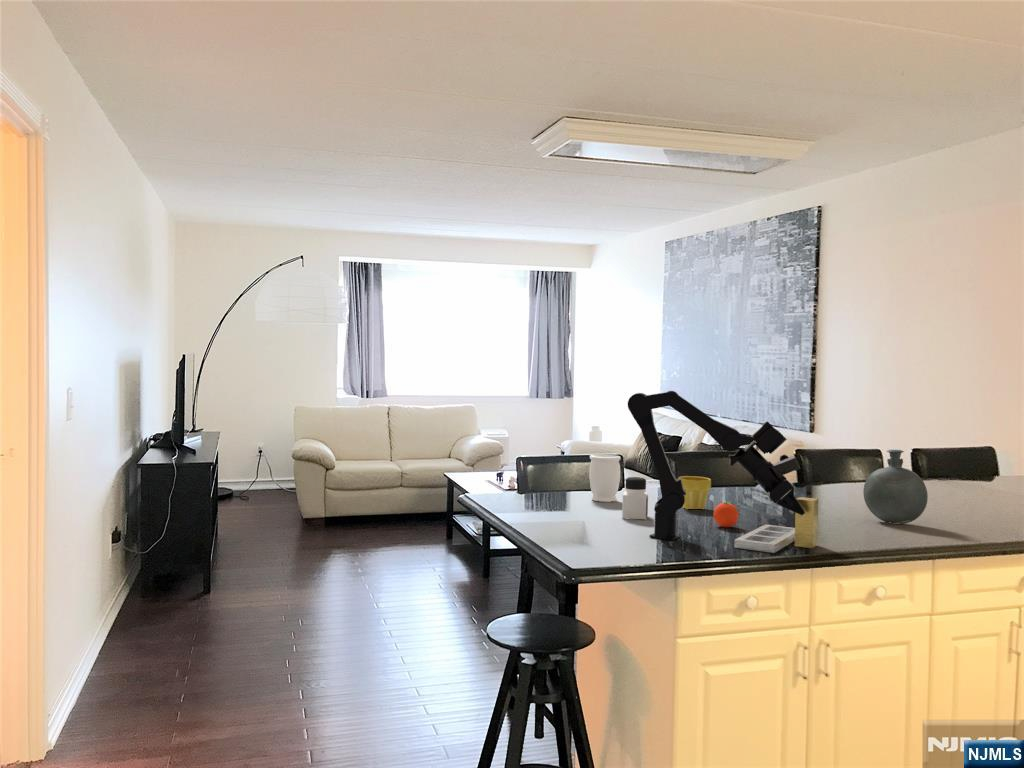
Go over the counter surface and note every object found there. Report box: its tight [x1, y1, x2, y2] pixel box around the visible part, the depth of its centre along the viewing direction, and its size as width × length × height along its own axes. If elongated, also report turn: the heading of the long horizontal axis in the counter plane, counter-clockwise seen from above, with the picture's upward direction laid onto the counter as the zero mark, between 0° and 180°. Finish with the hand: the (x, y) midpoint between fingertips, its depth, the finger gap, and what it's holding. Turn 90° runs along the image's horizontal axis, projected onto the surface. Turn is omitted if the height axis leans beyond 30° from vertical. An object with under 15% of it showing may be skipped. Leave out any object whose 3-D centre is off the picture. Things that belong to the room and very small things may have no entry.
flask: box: [863, 449, 929, 525], centre depth 252 cm, size 12×17×22 cm
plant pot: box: [680, 475, 712, 510], centre depth 272 cm, size 10×10×10 cm
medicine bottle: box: [621, 476, 649, 521], centre depth 254 cm, size 7×7×12 cm
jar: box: [588, 453, 621, 503], centre depth 285 cm, size 11×10×15 cm
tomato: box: [713, 501, 739, 528], centre depth 242 cm, size 8×7×7 cm
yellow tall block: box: [794, 496, 819, 549], centre depth 218 cm, size 4×4×12 cm
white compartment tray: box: [733, 524, 795, 554], centre depth 222 cm, size 26×10×2 cm, turn 147°
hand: (801, 511), depth 218 cm, fingers open, 9 cm apart
